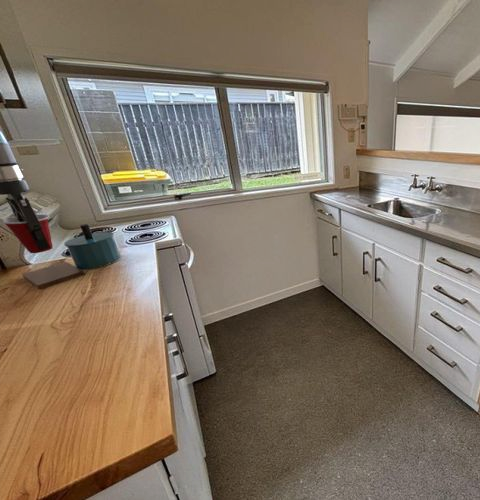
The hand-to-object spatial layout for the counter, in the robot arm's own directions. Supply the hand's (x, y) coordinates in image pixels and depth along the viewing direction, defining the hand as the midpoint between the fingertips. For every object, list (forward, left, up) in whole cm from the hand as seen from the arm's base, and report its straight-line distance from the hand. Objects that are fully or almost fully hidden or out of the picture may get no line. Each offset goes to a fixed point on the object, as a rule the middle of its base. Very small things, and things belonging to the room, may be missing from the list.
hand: (40, 246), depth 98 cm
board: (0, 0, -11) cm, 11 cm away
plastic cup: (0, 0, -2) cm, 2 cm away
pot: (+8, +11, -11) cm, 18 cm away
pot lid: (+8, +11, -2) cm, 14 cm away
